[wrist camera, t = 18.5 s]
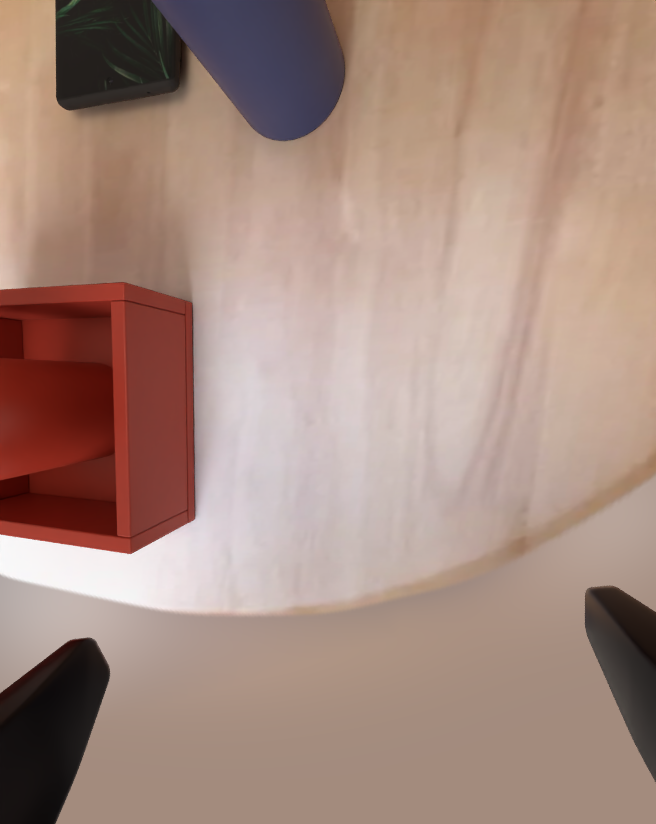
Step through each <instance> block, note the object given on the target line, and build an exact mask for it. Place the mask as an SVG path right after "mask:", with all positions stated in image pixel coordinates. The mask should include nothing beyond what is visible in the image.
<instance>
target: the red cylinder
mask: <svg viewBox="0 0 656 824" xmlns="http://www.w3.org/2000/svg"><path fill="white" fill-rule="evenodd" d="M114 453H115V435H114V398H113V369H112V368H111V367H109V366H107V365H104V364H101V363H93V362H73V361H52V360H32V359H11V358H0V480H4V479H9V478H13V477H18V476H22V475H27V474H31V473H36V472H40V471H45V470H49V469H54V468H58V467H63V466H67V465H72V464H76V463H81V462H85V461H90V460H94V459H99V458H103V457H107V456H110V455H112V454H114Z"/></svg>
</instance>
